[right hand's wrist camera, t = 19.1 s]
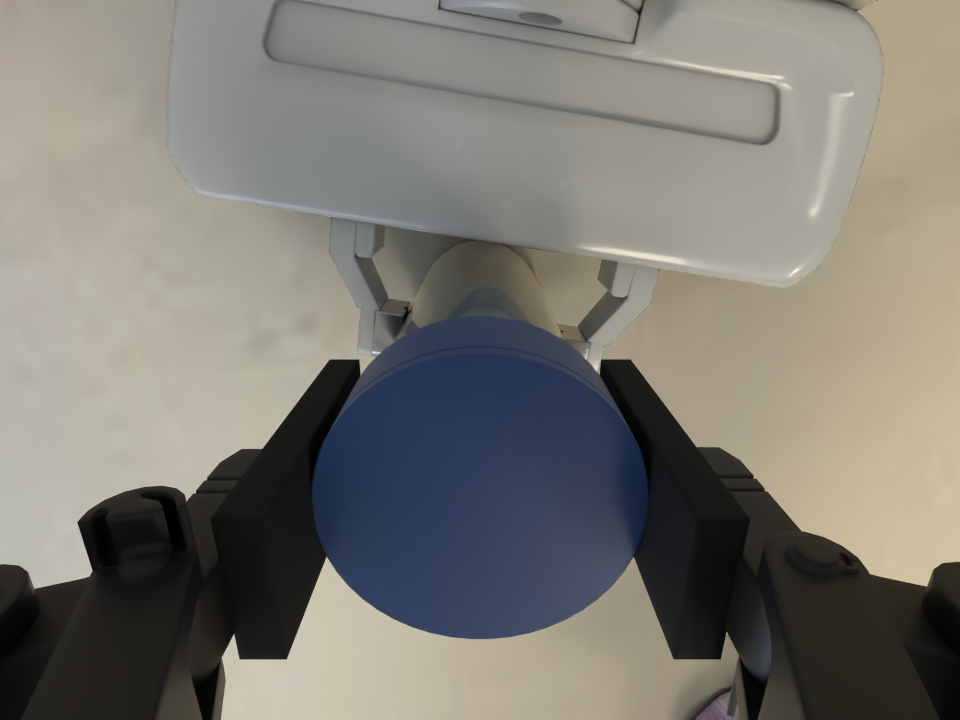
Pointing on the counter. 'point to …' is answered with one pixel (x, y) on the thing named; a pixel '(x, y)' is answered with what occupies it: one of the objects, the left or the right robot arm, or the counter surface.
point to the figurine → (718, 710)
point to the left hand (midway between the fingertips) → (477, 366)
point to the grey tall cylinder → (480, 289)
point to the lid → (480, 481)
